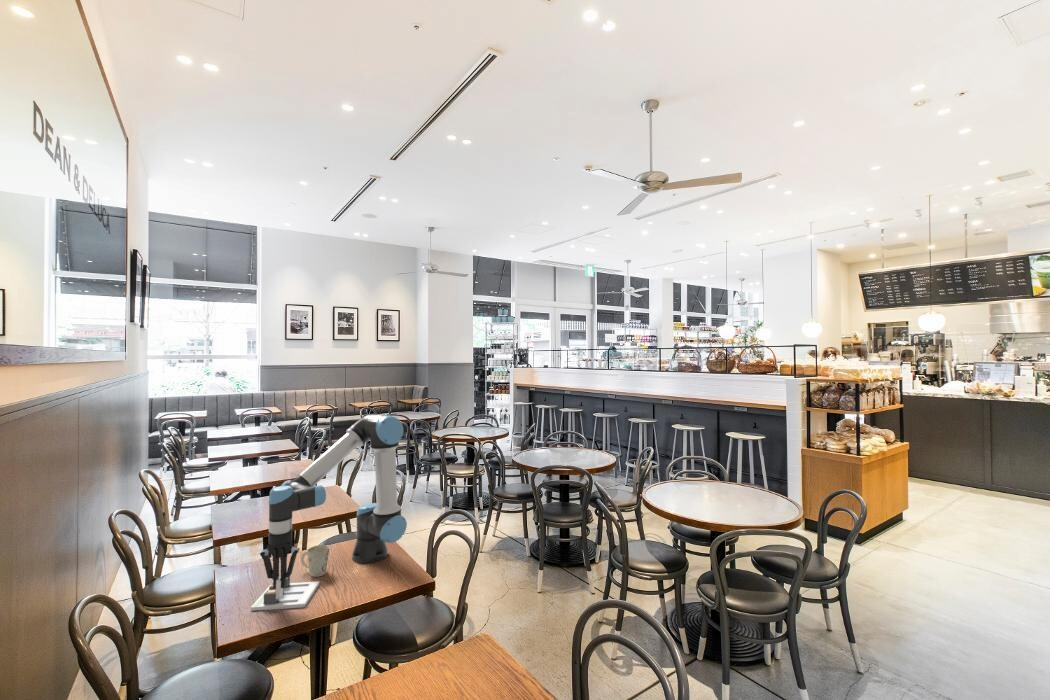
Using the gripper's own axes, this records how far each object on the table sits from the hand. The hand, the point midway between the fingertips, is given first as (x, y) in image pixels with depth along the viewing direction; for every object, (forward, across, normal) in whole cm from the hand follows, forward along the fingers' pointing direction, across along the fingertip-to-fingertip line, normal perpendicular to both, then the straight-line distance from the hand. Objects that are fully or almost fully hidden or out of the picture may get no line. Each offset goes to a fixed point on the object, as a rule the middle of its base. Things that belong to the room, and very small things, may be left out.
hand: (279, 596), depth 167 cm
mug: (+3, -4, -26) cm, 26 cm away
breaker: (+2, +3, 0) cm, 3 cm away
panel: (+3, 0, -6) cm, 7 cm away
